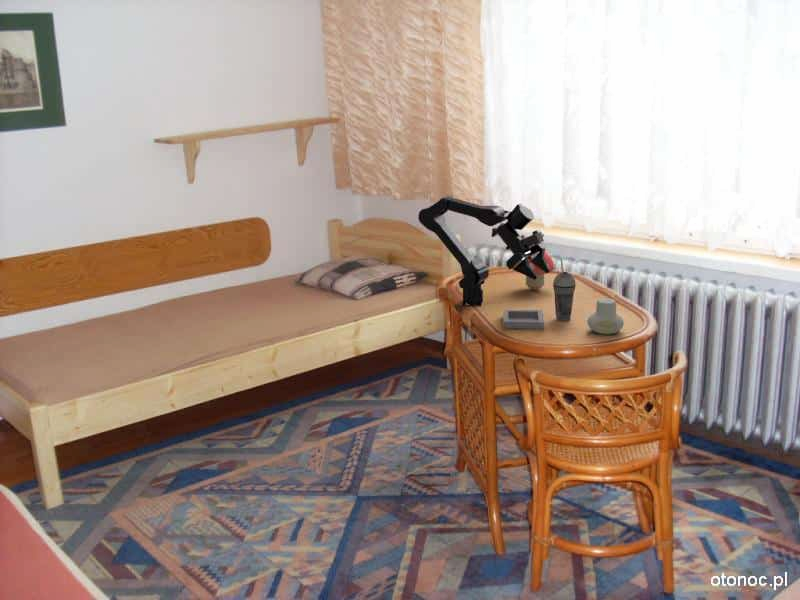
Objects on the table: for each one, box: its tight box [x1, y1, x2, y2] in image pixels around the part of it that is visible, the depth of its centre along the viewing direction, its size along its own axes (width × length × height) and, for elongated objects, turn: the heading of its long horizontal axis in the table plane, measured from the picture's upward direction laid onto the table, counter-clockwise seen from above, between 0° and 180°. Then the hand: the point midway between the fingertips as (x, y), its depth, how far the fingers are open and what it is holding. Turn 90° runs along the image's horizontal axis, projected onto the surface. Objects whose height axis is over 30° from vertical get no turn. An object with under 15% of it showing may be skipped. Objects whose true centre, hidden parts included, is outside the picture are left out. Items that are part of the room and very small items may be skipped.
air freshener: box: [586, 297, 625, 335], centre depth 271 cm, size 11×8×10 cm
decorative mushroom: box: [525, 251, 555, 291], centre depth 315 cm, size 13×13×15 cm
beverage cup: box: [552, 258, 577, 322], centre depth 282 cm, size 7×7×20 cm
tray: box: [502, 309, 545, 331], centre depth 282 cm, size 13×13×2 cm
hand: (542, 275), depth 286 cm, fingers open, 9 cm apart
